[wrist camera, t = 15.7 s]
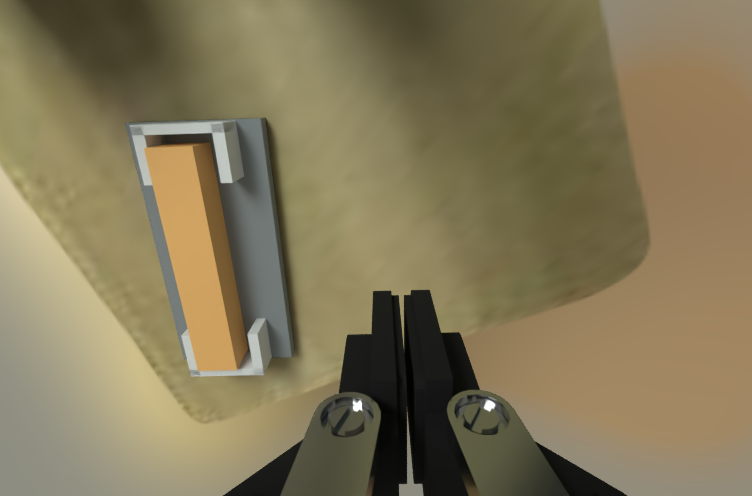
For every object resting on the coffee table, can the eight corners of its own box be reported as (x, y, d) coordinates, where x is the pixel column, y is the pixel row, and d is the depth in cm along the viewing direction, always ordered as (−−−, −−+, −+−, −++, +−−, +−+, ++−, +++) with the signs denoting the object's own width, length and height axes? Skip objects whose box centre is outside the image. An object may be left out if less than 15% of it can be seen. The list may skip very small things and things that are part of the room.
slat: (165, 143, 35) (143, 148, 31) (210, 142, 34) (192, 146, 31) (212, 350, 42) (197, 371, 39) (248, 349, 42) (237, 370, 39)
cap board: (135, 122, 35) (102, 124, 31) (265, 117, 35) (249, 120, 31) (190, 351, 44) (170, 377, 40) (294, 349, 44) (285, 375, 40)
